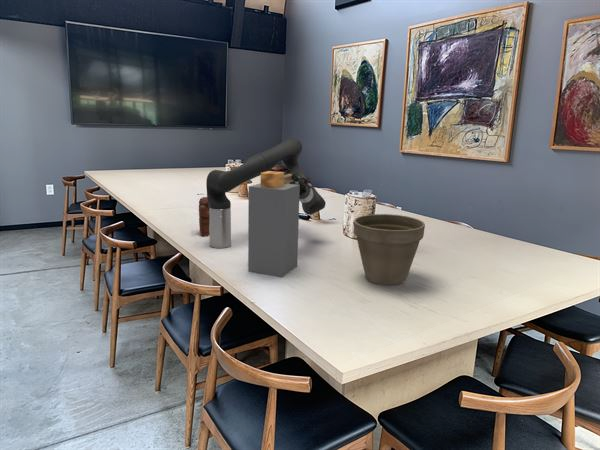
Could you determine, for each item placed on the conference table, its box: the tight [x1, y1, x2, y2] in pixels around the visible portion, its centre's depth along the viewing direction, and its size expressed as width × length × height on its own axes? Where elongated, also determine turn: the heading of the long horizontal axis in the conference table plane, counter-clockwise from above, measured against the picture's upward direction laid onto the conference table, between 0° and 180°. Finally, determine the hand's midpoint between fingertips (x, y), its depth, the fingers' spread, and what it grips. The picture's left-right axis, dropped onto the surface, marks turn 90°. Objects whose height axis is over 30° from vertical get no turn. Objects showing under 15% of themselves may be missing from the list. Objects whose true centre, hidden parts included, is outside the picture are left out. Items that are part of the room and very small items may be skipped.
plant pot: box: [353, 213, 426, 286], centre depth 168 cm, size 25×25×22 cm
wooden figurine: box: [198, 196, 210, 237], centre depth 223 cm, size 12×6×18 cm, turn 16°
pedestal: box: [247, 182, 300, 278], centre depth 174 cm, size 14×14×32 cm
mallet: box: [260, 170, 294, 188], centre depth 174 cm, size 6×22×5 cm, turn 158°
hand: (288, 174), depth 180 cm, fingers closed on mallet, 3 cm apart
